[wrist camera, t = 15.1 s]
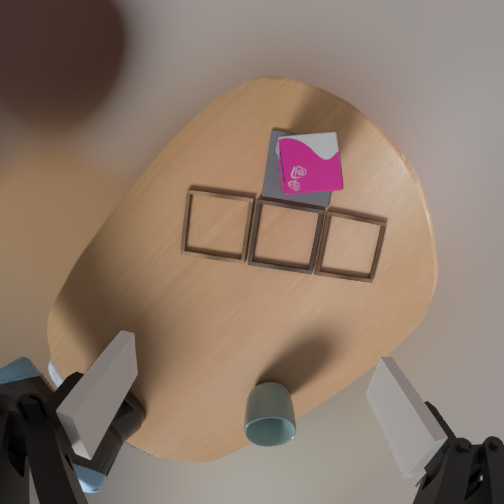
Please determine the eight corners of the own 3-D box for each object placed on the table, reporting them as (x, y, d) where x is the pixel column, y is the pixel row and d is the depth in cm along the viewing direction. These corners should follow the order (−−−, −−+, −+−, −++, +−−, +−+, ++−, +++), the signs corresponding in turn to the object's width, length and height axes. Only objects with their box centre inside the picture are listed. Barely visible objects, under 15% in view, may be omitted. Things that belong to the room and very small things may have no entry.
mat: (261, 195, 37) (261, 195, 37) (271, 130, 35) (271, 130, 35) (327, 207, 37) (327, 207, 37) (337, 143, 35) (338, 142, 35)
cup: (286, 370, 44) (290, 412, 34) (295, 401, 46) (300, 442, 36) (241, 379, 45) (236, 421, 35) (253, 409, 46) (251, 450, 37)
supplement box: (273, 148, 36) (278, 134, 24) (317, 144, 35) (340, 129, 24) (279, 191, 37) (286, 195, 26) (323, 187, 36) (347, 189, 25)
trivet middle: (247, 263, 40) (247, 264, 39) (257, 199, 38) (257, 199, 37) (310, 272, 40) (311, 274, 39) (323, 210, 38) (324, 210, 37)
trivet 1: (181, 253, 40) (180, 254, 39) (188, 189, 38) (187, 189, 37) (244, 262, 40) (243, 264, 39) (253, 198, 38) (253, 198, 37)
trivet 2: (314, 273, 40) (314, 274, 39) (326, 210, 38) (327, 211, 37) (370, 281, 40) (372, 282, 39) (384, 222, 38) (386, 223, 37)
